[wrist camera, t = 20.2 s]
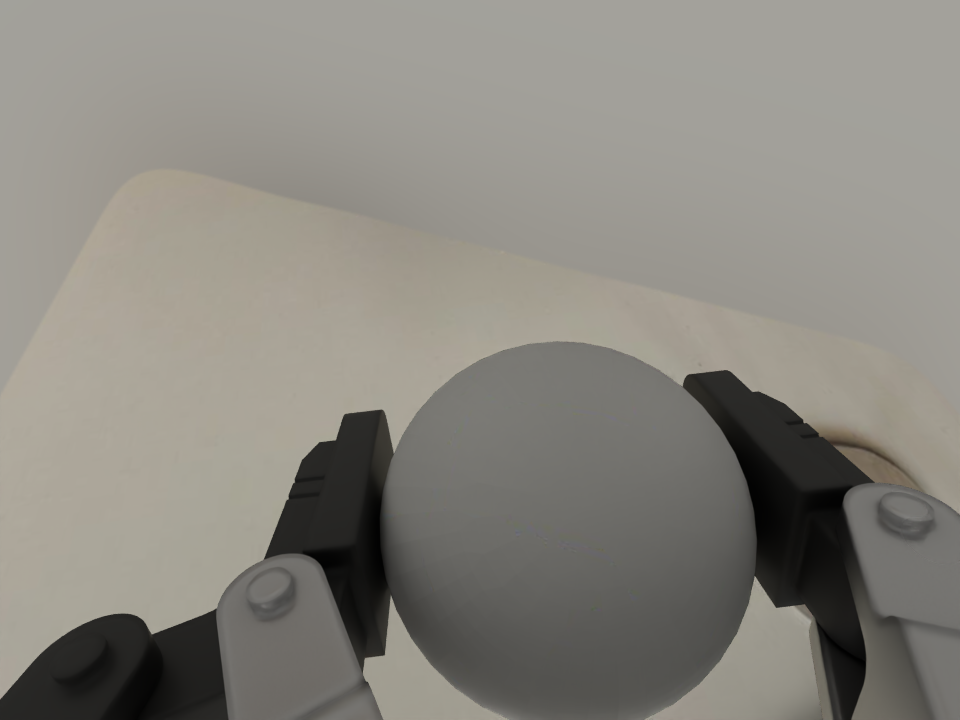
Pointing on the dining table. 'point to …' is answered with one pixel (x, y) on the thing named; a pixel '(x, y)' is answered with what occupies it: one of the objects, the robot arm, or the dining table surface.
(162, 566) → the dining table surface
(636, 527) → the light bulb
